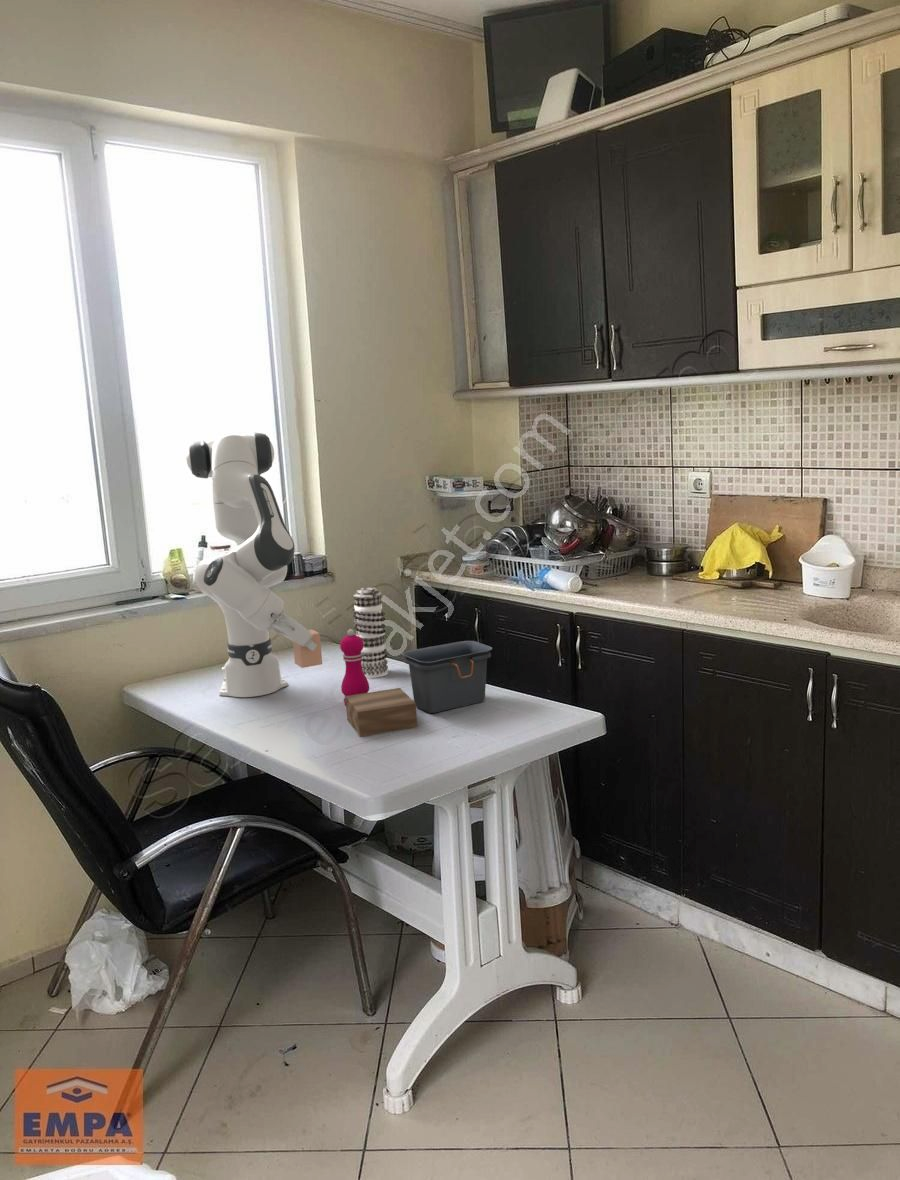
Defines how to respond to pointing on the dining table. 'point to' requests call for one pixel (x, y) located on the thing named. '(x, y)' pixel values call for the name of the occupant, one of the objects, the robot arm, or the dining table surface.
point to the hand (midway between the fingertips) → (309, 645)
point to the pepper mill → (353, 666)
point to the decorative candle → (370, 631)
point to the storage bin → (448, 675)
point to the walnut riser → (381, 712)
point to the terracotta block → (308, 652)
